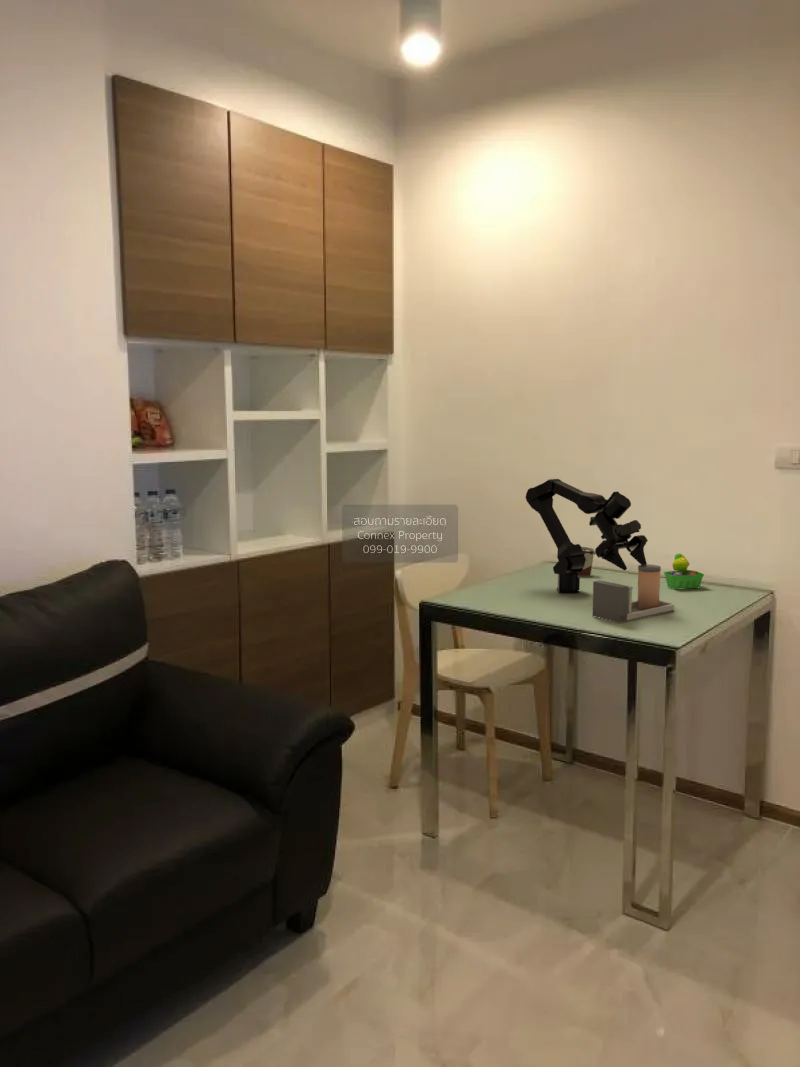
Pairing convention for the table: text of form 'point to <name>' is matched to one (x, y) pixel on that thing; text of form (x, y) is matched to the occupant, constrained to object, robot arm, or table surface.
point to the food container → (587, 561)
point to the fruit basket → (682, 574)
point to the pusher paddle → (629, 598)
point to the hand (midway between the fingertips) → (635, 567)
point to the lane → (620, 603)
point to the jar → (648, 586)
